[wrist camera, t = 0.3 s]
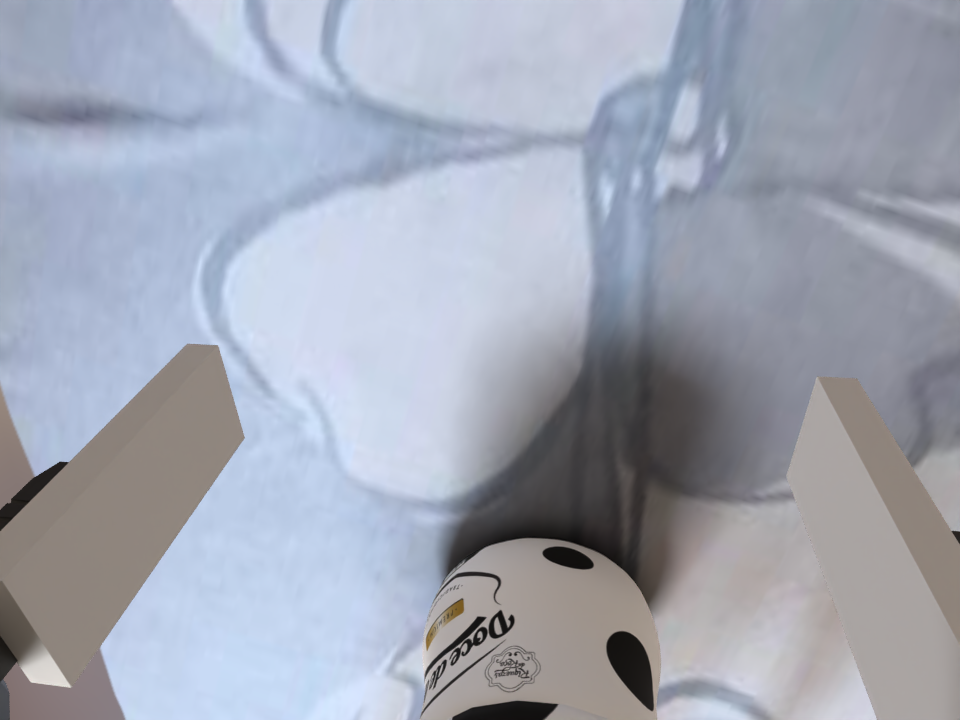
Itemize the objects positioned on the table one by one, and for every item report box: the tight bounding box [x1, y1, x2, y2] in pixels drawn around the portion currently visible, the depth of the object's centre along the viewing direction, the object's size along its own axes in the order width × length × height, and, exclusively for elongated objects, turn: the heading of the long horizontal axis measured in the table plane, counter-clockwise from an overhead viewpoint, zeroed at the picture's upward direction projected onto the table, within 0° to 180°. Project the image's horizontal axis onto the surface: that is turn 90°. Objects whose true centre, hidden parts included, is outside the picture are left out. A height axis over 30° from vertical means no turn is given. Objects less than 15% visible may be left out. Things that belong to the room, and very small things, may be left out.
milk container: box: [420, 537, 661, 720], centre depth 44 cm, size 17×17×18 cm
